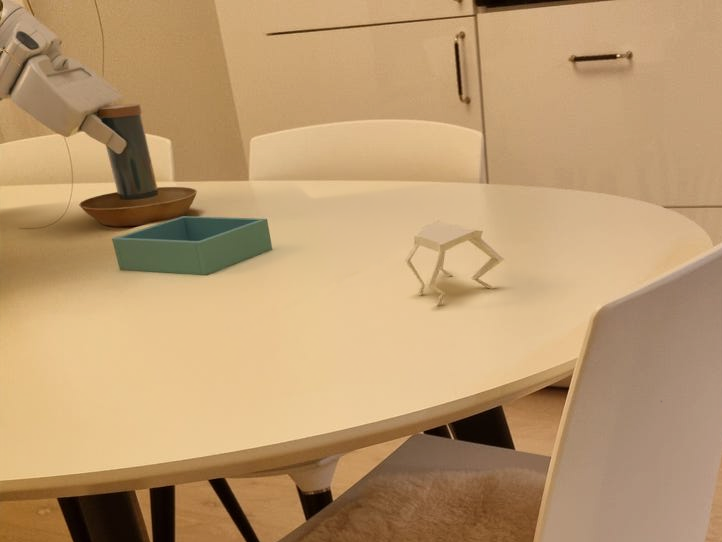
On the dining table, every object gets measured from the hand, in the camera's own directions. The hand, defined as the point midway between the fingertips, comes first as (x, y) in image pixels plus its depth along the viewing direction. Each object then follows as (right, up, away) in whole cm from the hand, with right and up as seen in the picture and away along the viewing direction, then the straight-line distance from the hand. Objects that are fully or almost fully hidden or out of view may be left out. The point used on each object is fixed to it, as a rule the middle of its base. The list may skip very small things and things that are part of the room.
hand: (131, 145), depth 118 cm
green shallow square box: (+14, -23, -19) cm, 33 cm away
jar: (0, -5, +3) cm, 6 cm away
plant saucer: (0, -7, +5) cm, 9 cm away
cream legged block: (+41, -30, -33) cm, 61 cm away
